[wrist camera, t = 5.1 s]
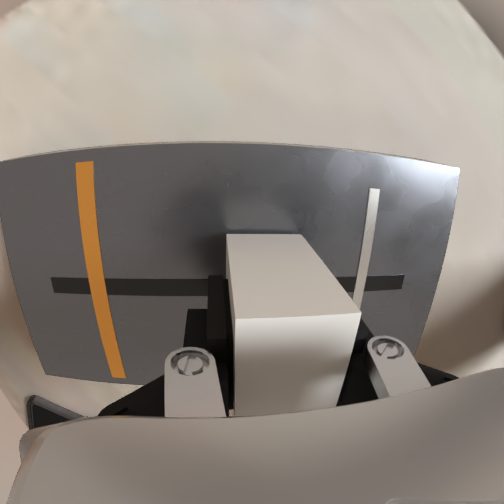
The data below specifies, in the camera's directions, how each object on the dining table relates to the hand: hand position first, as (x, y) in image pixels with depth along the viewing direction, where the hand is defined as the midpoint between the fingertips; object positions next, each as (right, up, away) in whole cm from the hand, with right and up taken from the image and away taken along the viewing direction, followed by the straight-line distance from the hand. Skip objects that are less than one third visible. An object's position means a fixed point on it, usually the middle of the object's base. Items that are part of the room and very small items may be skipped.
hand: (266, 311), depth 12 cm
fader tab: (0, +1, +2) cm, 2 cm away
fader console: (-2, +2, +5) cm, 5 cm away
